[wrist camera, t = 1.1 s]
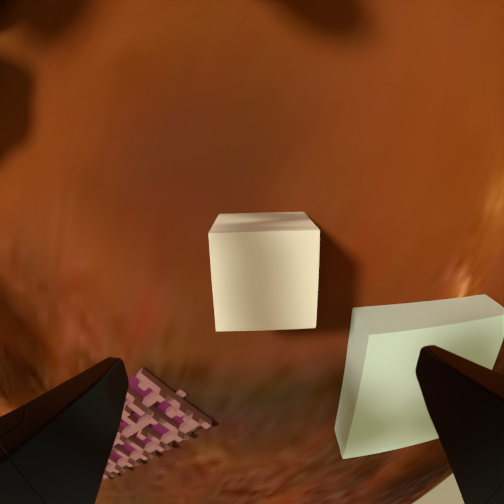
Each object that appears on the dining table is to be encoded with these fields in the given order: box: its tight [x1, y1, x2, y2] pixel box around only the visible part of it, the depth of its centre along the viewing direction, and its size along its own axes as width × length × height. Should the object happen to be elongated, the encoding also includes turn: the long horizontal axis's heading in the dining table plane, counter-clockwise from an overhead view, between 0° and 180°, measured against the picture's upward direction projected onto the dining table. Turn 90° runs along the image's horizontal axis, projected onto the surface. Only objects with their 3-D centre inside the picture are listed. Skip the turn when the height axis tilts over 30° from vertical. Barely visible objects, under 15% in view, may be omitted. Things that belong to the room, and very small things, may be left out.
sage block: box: [334, 294, 504, 459], centre depth 21 cm, size 12×12×4 cm
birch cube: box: [208, 212, 320, 331], centre depth 18 cm, size 5×5×5 cm
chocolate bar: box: [102, 367, 212, 481], centre depth 25 cm, size 7×19×2 cm, turn 133°
